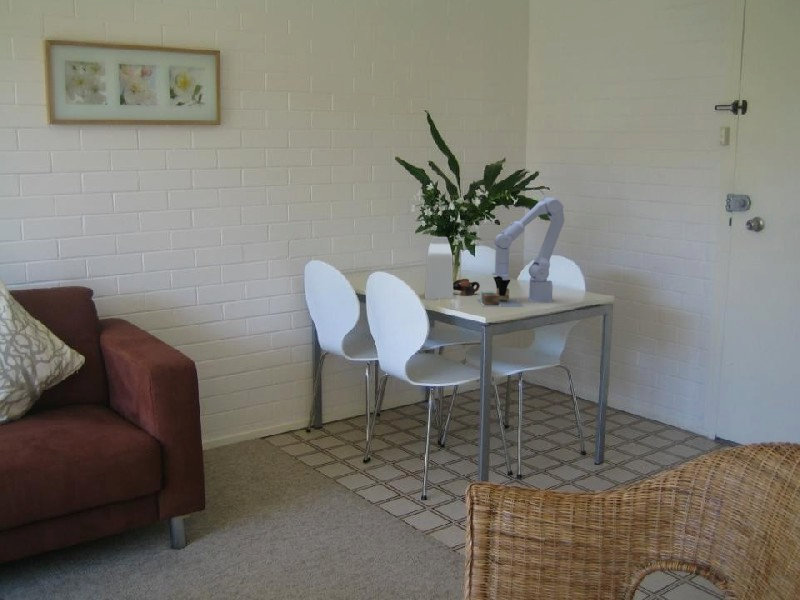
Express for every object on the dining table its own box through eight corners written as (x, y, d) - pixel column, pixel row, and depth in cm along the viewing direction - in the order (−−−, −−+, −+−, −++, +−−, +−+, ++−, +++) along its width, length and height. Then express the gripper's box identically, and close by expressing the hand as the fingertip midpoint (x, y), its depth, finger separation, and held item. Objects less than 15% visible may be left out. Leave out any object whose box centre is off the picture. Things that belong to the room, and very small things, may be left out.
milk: (425, 299, 380) (426, 238, 375) (424, 294, 391) (425, 235, 387) (453, 299, 380) (454, 238, 375) (452, 295, 391) (453, 235, 386)
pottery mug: (455, 298, 386) (450, 280, 388) (455, 304, 395) (451, 287, 398) (482, 291, 386) (477, 274, 388) (482, 297, 395) (477, 280, 397)
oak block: (506, 297, 379) (507, 287, 378) (509, 299, 374) (509, 289, 374) (496, 297, 378) (496, 287, 378) (498, 299, 374) (498, 289, 373)
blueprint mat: (515, 300, 380) (515, 299, 380) (524, 307, 362) (524, 306, 362) (476, 300, 379) (476, 299, 379) (483, 307, 361) (483, 306, 361)
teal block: (493, 302, 372) (494, 292, 372) (483, 302, 372) (483, 292, 371) (491, 300, 377) (492, 290, 376) (481, 300, 376) (481, 290, 376)
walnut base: (496, 302, 370) (496, 293, 370) (499, 305, 364) (499, 295, 364) (482, 302, 370) (482, 293, 369) (484, 305, 364) (484, 295, 363)
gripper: (489, 260, 381) (488, 291, 383) (495, 264, 366) (495, 297, 369) (505, 260, 381) (505, 291, 383) (512, 264, 367) (511, 297, 369)
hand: (501, 294), depth 376 cm, fingers closed on oak block, 4 cm apart
